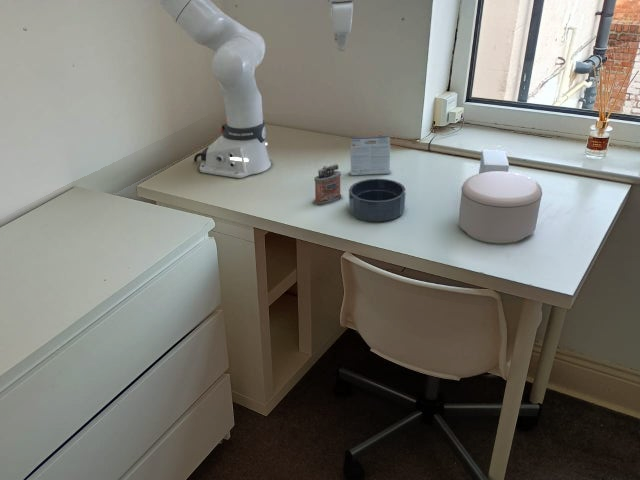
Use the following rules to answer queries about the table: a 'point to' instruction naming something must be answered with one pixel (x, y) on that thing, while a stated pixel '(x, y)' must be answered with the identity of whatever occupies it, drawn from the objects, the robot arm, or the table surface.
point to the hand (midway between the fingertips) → (339, 45)
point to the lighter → (327, 185)
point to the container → (499, 206)
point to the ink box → (370, 155)
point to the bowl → (377, 199)
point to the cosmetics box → (493, 161)
